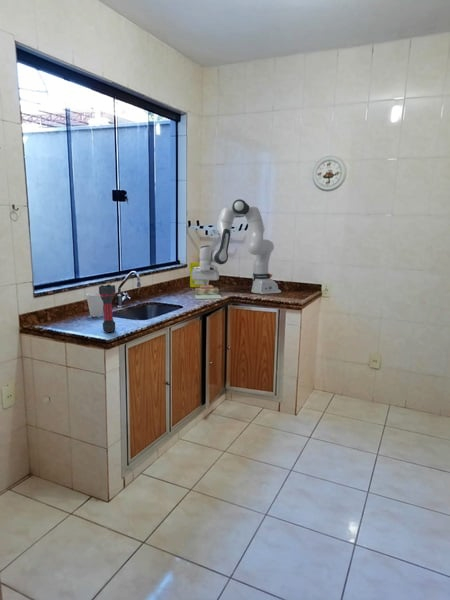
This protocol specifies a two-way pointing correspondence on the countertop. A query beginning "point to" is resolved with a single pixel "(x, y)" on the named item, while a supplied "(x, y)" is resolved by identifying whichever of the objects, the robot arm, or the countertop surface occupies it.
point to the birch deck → (206, 291)
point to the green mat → (208, 297)
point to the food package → (192, 282)
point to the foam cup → (95, 304)
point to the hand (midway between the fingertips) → (205, 285)
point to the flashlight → (107, 306)
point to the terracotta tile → (206, 287)
